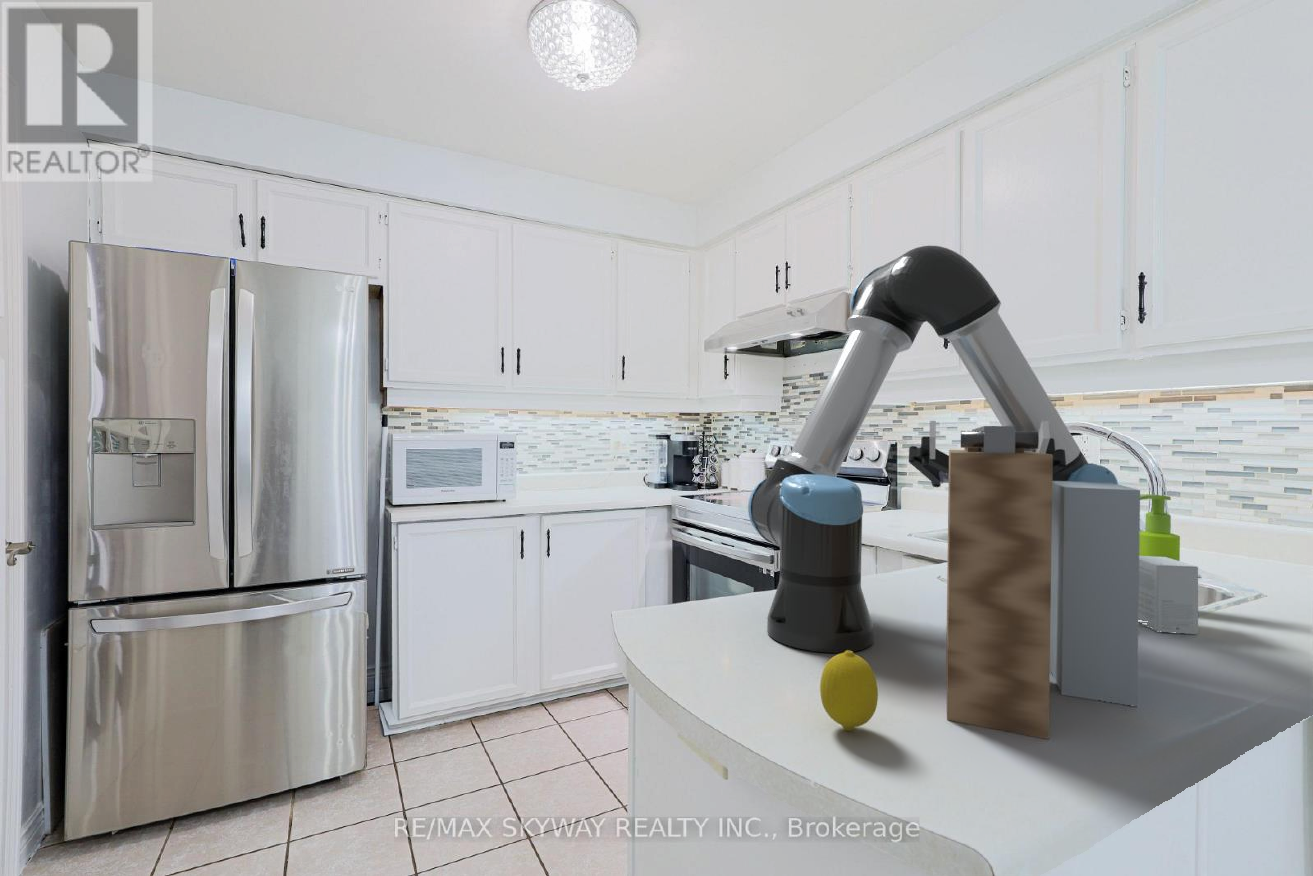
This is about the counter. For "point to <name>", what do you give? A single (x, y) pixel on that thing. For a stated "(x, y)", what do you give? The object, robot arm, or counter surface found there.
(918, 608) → the counter surface
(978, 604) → the walnut stand
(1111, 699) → the block
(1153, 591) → the small box
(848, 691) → the lemon
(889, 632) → the counter surface
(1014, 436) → the dark grey bar
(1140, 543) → the soap dispenser
